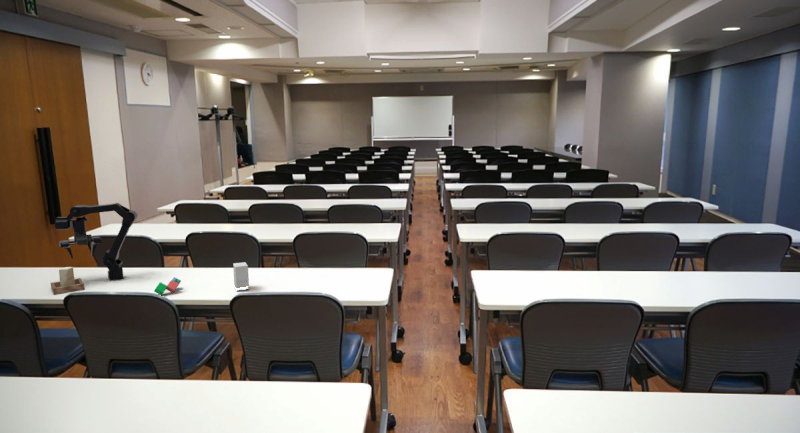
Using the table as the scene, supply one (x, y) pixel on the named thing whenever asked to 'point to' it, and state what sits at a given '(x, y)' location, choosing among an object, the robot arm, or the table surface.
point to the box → (66, 276)
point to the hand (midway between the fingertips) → (82, 257)
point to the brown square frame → (67, 287)
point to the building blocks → (167, 286)
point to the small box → (240, 275)
